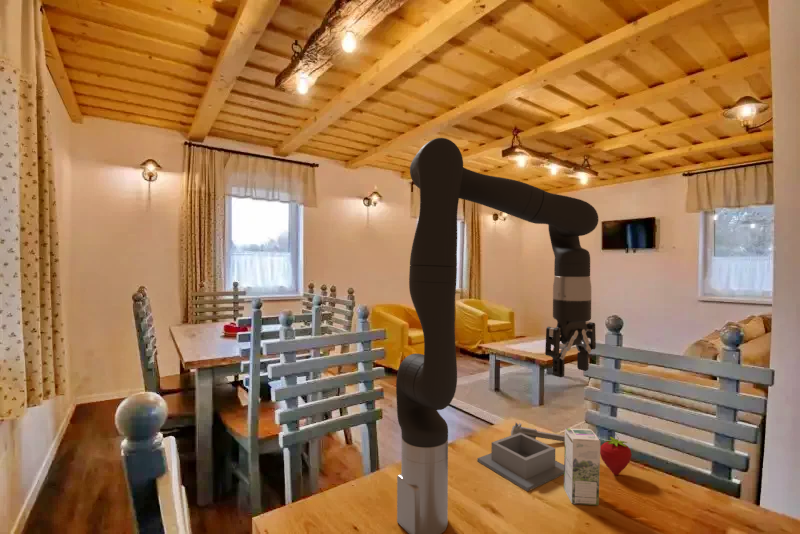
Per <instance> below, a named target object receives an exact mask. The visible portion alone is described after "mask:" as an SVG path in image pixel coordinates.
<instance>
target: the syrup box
mask: <svg viewBox="0 0 800 534" xmlns="http://www.w3.org/2000/svg"><path fill="white" fill-rule="evenodd" d="M564 436H565V442H564V455H563V456H564V457H563V458H564V460H563V461H564V462H563V463H564V464H563V465H564V474H563V489H564V491H565V493H566V495H567V497H568V499H569V501H570V502H571V504H573V505H585V506H588V505H589V506H599V504H600V472H601V471H600V470H601V469H600V468H601V467H600V464H601V455H600V447H601V440H600V439H599V437H598V436H597V435H596V433H595V432H594V431H593V430H592V429H591V428H570V427H569V428H568V427H567V428H566V427H565V428H564Z"/></svg>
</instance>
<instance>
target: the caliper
mask: <svg viewBox="0 0 800 534" xmlns="http://www.w3.org/2000/svg"><path fill="white" fill-rule="evenodd" d="M520 432H521V433H523V434H525V435H527V436H529V437H531V438H534V439H536V438H540V439H545V440H552V441H556V442H557V441H558V442H564V443H565V434H564V435H563V434H557V433H551V432H547V431H546V432H545V431H539V430H537V428H530V427H526V426H522V423H521V422H519V423H517V422H515V425H512V428H511V431H510V436H511V435H514V434H517V433H520ZM536 440H537V439H536Z"/></svg>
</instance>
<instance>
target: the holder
mask: <svg viewBox="0 0 800 534" xmlns="http://www.w3.org/2000/svg"><path fill="white" fill-rule="evenodd" d="M476 461H477V462H478V463H480V464H481V465H483V466H484V467H486V468H488V469H489V470H491V471H493V472H495V473H496V474H498V475H499V476H501V477H502V478H504V479H506V480H507V481H509V482H511V483H512V484H514V485H515V486H517V487H518V488H520V489H523V490H524V491H526V492H528V491H529V492H530V491H531V490H533V489H536V488H537V487H540V486H542V485H544V484H546V483H549V482H550V481H552V480H556V479H557V478H559V477H561V476H564V464H563V463H561V462H559V461H557V460H556V448H555V447H553V446H551V445H548V444H547V443H544V442H542V441H540V440H537V439H534V438H531V437H529V436H527V435H525V434H523V433H521V432H520V433H517V434H514V435H511V434H510V435H509V436H506V437H504V438H500V439H497V440H494V441H492V442H491V452H490V453H488V454H485V455H483V456H479V457H477V460H476Z"/></svg>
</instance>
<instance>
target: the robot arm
mask: <svg viewBox="0 0 800 534" xmlns="http://www.w3.org/2000/svg"><path fill="white" fill-rule="evenodd" d="M409 174H410V178H411V181H412V182H413V184H414V185H415V187H417V188H418V189H419V214H418V215H419V216H418V218H417V219H418V220H417V224H416V228H415V233H414V237H413V241H412V245H411V250H410V251H411V252H410V256H409V258H410V259H409V271H408V272H409V275H408V280H409V281H408V285H409V288H408V289H409V294H410V298H411V301H412V304H413V307H414V309H415V312H416V314H417V317H418V320H419V323H420V326H421V330H422V333H423V342H424V343H423V346H424V347H423V354H422V353H412V354H409V355H407V356H406V357H405V358H403V360H402V361H401V362H400V364H399V367H398V369H397V374H396V378H395V379H396V382H395V384H396V385H395V395H396V411H397V412H396V413H397V415H396V416H397V422H398V425H399V427H400V431H401V459H400V461H401V465H400V466H401V467H400V468H401V470H400V471H401V473H400V474H398V475H397V476H396V478H397V479H396V488H397V489H396V495H397V496H396V499H397V500H396V503H397V504H396V523H397V524H398V525H400V526H401V528H402V529H403V530H404V531H405V532H407V534H443V533H444V532H445V531H446V529H447V527H448V524H449V523H448V519H449V518H448V516H449V514H448V513H449V512H448V509H449V508H448V507H449V506H448V504H449V503H448V502H449V501H448V500H449V496H448V495H449V493H448V491H449V489H448V488H449V480H448V479H449V472H448V471H449V426H448V423H447V421H446V420H445V418H444V417H442V415H441V414H440V412H439V411H441V410H442V411H443V410H444V409H446V408H447V407H448V406H450V405H451V403H452V401H453V399H454V397H455V394H456V391H457V386H458V367H457V366H458V365H457V363H458V362H457V350H456V328H455V327H456V326H455V325H456V294H457V293H456V291H457V275H458V273H457V272H458V208H459V200H460V199H461V200H464V201H469V202H472V203H475V204H478V205H482V206H484V207H488V208H491V209H494V210H496V211H499V212H502V213H504V214H508V216H509V215H510V216H512V217H514V218H517V219H520V220H523V221H526V222H528V223H532V224H536V225H539V224H540V225H548V234H549V239H550V244H551V247H552V252H553V254H554V265H553V267H554V271H553V272H554V275H553V284H552V317H553V319H554V320H556V321H557V322H556V327H553V326H547V327H546V329H545V334H546V335H545V347H544V348H545V349H544V350H545V352H544V354H545V356H547V357H551V358H552V374H553V376H554V377H557V378H563V377H565V368H566V365H565V364H566V363H565V357H566V355H567V353H568V352H569V351H571V349H572V347H574V346H575V348H576V349H577V356H576V357H577V362H576V363H577V370H579V371H583V372H586V371H589V370H590V369H589V365H590V364H589V362H590V361H589V359H590V357H589V356H590V355H589V354H591V352H592V351H593V350H596V348H597V342H596V341H597V340H596V339H597V338H596V337H597V335H596V323H595V322H592V321H591V320H592V283H591V254H590V252H589V250H588V249H585V248H583V247H582V246H581V241H580V237H582V236H586V235H589V234H590V233H592V232H593V231H594V230H595V229H596V228H597V227H598V223H599V214H598V212H597V209H596V208H595V207H594V206H593V205H591V203H589V202H588V201H586V200H582V199H580V198H575V197H573V196H567V195H562V194H557V193H552V192H549V191H546V190H544V189H541V188H538V187H536V186H534V185H531V184H530V183H529V184H528V183H526V182H523V181H520V180H515V179H511V178H506V177H499V176H493V175H488V174H483V173H480V172H476V171H474V170H471V169H469V168H466V167H464V159H463V155H462V153H461V150H460V148H459V147H458V146H457V144H456V143H455V142H454V141H452V139H451V140H450V139H449V138H445V137H436V138H434V139H431V140H430V141H428V142H426V143H425V144H424V145H423V146H421V148H420V149H419V150H418V152H417V153H416V155H415V156H414V157H413V159H412V161H411V163H410V166H409ZM552 347H553V348H552Z"/></svg>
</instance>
